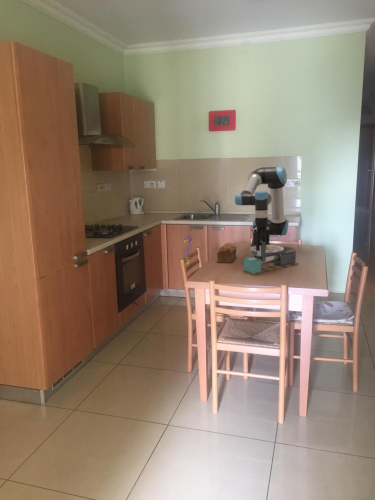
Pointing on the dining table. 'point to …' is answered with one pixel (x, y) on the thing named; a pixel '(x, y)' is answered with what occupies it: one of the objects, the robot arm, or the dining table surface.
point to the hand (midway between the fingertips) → (261, 255)
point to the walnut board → (270, 268)
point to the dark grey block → (285, 257)
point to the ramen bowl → (268, 250)
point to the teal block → (252, 265)
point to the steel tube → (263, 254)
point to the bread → (226, 253)
